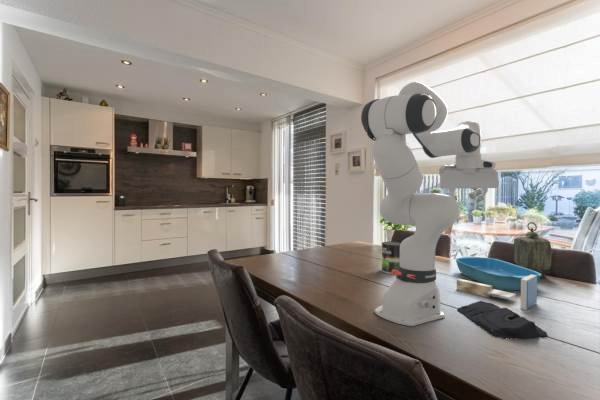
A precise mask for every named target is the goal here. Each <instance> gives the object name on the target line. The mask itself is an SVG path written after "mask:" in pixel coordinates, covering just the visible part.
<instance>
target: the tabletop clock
mask: <svg viewBox="0 0 600 400" xmlns="http://www.w3.org/2000/svg"><path fill="white" fill-rule="evenodd" d="M531 224H533V225H534V226H535V229H534V228H533V227H531V228H530V225H531ZM526 226H527V229H528V230H529V231H527V232H526V233H525V234H524V236H518V237H516V238H513V239H514V240H513V248H512V249H513V251H512V253H513V261H514V263H515V264H516V265H518V266H521V267H524V268H527V269H530V270H537V272H539V273H540V274H541V277H542V278H543V279H546V278H547V275H546V274H544V273H543V271H542V270H550V269H551V266H552V244H551V241H550V240H549V239H547V238H545V237H540V236H539V234H538V233H537V232H536V231H537V229H538V228H537V227H538V226H537V224H536V223H535V222H534V221H530V222H528V223H527V225H526Z"/></svg>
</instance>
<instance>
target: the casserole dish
mask: <svg viewBox="0 0 600 400" xmlns="http://www.w3.org/2000/svg"><path fill="white" fill-rule="evenodd" d="M455 262H456V266H457V268H458V270H459V272H461V274H463V275H464V276H466V277H468V278H470V279H472V280H475V281H477V282H478V283H482V284H486V285H491V286H492V289H496V290H500V291H521V279H523V278H525V277H527V276H529V275H531V274H532V275H537V276H536V277H537V284H538V283H539V281H540V280H541V277H542V274H541V273H540V271H536V270H534V269H532V270H530V269H527V268H524V267H522V266H520V265H519V264H516V263H515V264H514V263H511V262H508V261H504V260H503V259H502V260H501V259H499V258H491V257H484V256H483V257H482V256H481V257H480V256H462V257H457V258H455Z"/></svg>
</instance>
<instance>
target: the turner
mask: <svg viewBox="0 0 600 400" xmlns="http://www.w3.org/2000/svg"><path fill="white" fill-rule="evenodd" d="M456 290H457V291H462V292H465V293H469V294H473V295H479V296H482V297H486V298H492V297H497V298H500V299H501V298H502V299H505V300H511V299H513V298H515V297H516V293H513V292H509V291H506V290H501V289H496V288H493V287H492V286H491V285H486V284H483V283H481V282H478V281H477V282H475V281H472V280H466V279H463V278H458V279H456Z"/></svg>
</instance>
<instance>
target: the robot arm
mask: <svg viewBox="0 0 600 400" xmlns="http://www.w3.org/2000/svg"><path fill="white" fill-rule="evenodd" d="M448 113H449V109H448V106H447V102H445V99H443V98H442V97H441V96H440V95H439V93H438V92H436V91H435V90H434V89H433V88H431V87H430V86H428V85H426V84H425V83H423V82H419V81H413V82H412V81H411V82H409V83H408V84H407V83H406V85H404V86H403V87H402V88H401V89H400V91H399V93H398V95H390V96H386V97H382V98H377V99H372V100H371V101H369V102H367V103H366V104H365V105H364V106H363V108H362V111H361V116H360V120H361V125H362V127H363V130H364V131H365V132H366V135H367V137H368V138H369V139H370V140H372V141H373V143H372V145H371V152H372V157H373V160H374V162H375V166H376V169H377V171H378V173H379V175H380V177H381V179H382V181H383V183H384V185H385V188H386V192H387V195H385V196H384V197H383V199H382V200H381V202H380V205H379V211H380V212H379V213H380V216H381V217H382V219H383V220H384V221H386V222H387V223H392V224H394V225H398V226H399V225H400V226H410V227H411V226H414V227H415V231H414V233H413V234H412V235H410V236H408V237H406V238H405V239H403V240H402V241H401V242H400V243H401V244H400V265H399V266H398V269H397V270H395V269H393V270H392V271H391V274H390V275H392V276H395V277H396V278H395V279H394V280H393V281H392V283H391V285H390V286H389V287H388V288H387V289H386V291H385V292H384V293H383V296H382V303H381V305H379V306H378V307H376V308H374V313H375V315H376V316H379V317H380V318H382V319H384V320H387V321H389V322H392V323H395V324H399V325H403V326H408V327H414V326H418V325H421V324H425V323H429V322H432V321H437V320H441V319H444V318H445V313H444V311H442V308H441V294H440V289H439V287H438V285H437V283H436V280H437V269H436V267H435V266H436V265H435V263H436V248H437V244H438V241H439V240H440V237H441V235H442V234H443V233H444V232H445V231H446V230H447V229H449V228H450V227H452V226H453V225H454V224H455V223H456V222H457V220H458V219H459V216H460V206H459V202H458V201H457V200H458V195H455V193H454V192H455V189H481V191H482V194H481V195H478V201H484V200H485V197H486V194H487V193H488V192H489V189H497V188H498V187H499V184H500V183H499V179H500V178H499V173H498V171H497V169H495V168H496V165H497V164H496V163H495V162H494V161H489V160H485V159H482V154H481V147H482V133H481V132H482V131H481V125H480V124H479V123H478V122H476V121H472V120H471V121H468V120H467V121H462V122H460V123H458V124H457V127H456V128H452V129H447V130H440V128H441V127H442V126H443V124H445V122H446V120H447V118H448ZM437 130H439V131H437ZM408 134H409V135H410V134H412V135H413V136H414V138H415V139H416V140H417V142H418V144H420V147H421V148H422V150H423V152H424V154H425V155H426V156H428V157H429V158H431V159H435V158H441V157H447V156H449V157H451V156H455V164H451V165H446V164H445V165H442V166H440V168H439V170H438V175H439V176H440V178H439V187H440V188H441V189H446V190H447V189H448V192H449V194H450V195H448V194H443V193H439V192H438V193H437V192H436V193H435V192H430V193H429V192H422V193H421V192H420V193H419V192H418V191H419V189H420V188H421V187H422V185H423V180H424V178H423V174H422V172H421V169H420V168H419V164H418V162H417V160H416V157H415V155H414V153H413V151H412V149H411V147H410V146H409V144H408V142H406V141H407V138H406V135H408Z"/></svg>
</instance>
